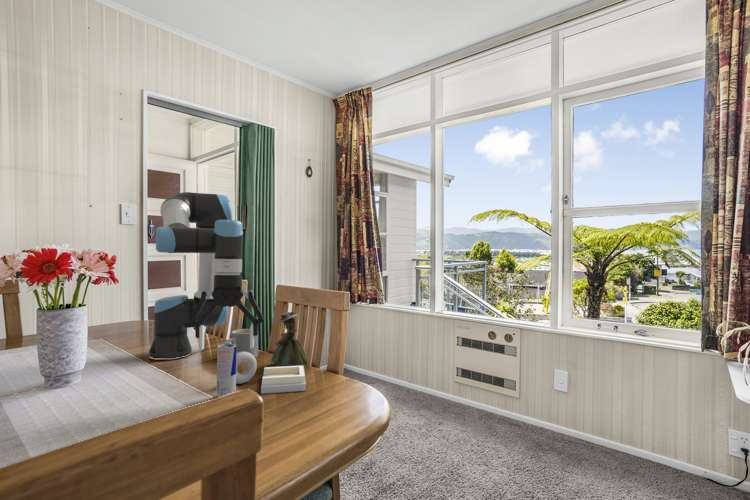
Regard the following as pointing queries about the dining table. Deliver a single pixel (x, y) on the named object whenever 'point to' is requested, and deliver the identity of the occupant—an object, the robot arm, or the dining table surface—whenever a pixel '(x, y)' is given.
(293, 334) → the figurine
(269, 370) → the tray
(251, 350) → the coffee mug
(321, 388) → the dining table surface
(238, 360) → the donut
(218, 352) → the beverage can
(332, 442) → the dining table surface
